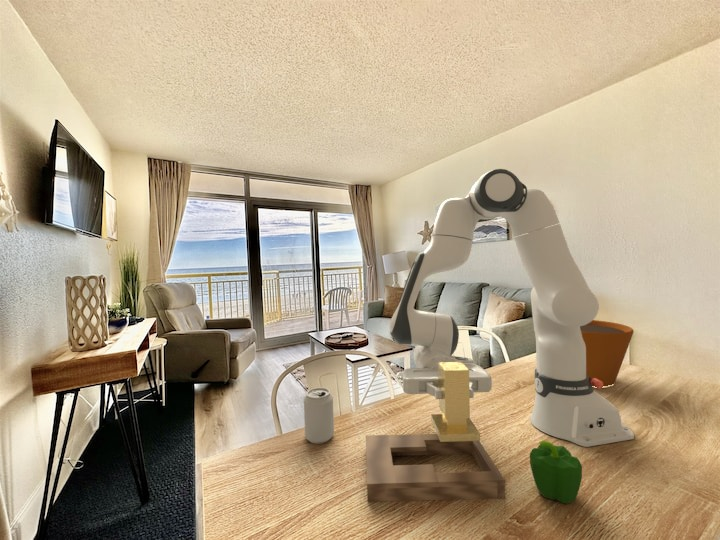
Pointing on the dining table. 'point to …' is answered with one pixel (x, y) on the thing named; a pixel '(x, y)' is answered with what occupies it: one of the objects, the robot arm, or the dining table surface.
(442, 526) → the dining table surface
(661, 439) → the dining table surface
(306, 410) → the can
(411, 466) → the walnut keyhole plate
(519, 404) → the dining table surface
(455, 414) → the brass peg
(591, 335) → the flower pot
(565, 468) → the bell pepper
